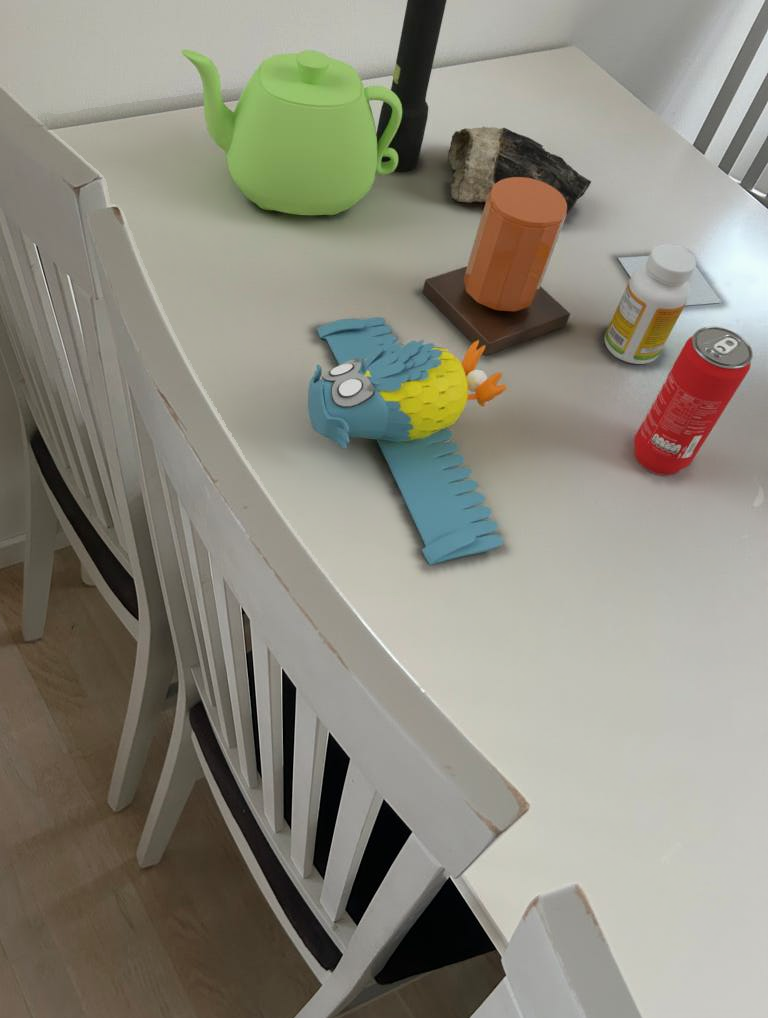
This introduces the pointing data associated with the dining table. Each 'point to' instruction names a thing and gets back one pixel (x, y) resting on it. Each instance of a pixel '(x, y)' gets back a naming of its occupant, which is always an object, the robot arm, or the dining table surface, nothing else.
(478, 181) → the mineral specimen
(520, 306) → the cup
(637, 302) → the supplement bottle
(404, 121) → the flashlight
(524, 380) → the dining table surface
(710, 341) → the beverage can
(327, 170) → the teapot
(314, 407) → the owl figurine
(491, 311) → the cup stand
